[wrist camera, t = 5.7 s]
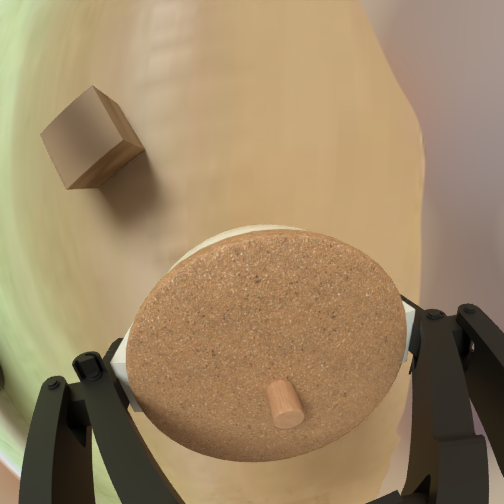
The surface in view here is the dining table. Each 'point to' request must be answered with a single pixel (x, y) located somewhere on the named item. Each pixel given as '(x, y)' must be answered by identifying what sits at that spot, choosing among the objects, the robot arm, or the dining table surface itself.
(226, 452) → the lidded jar
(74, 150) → the cube walnut
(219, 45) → the dining table surface
